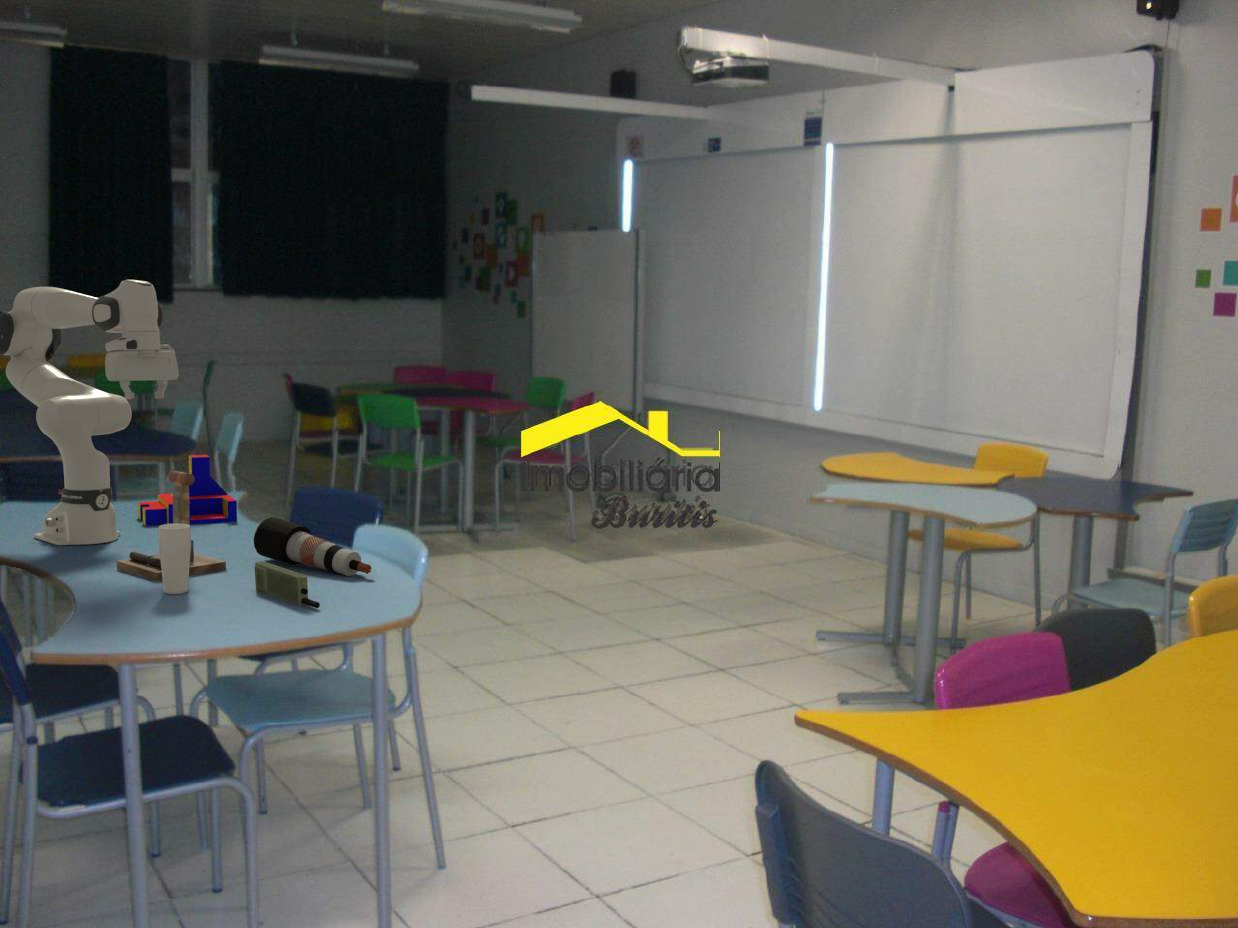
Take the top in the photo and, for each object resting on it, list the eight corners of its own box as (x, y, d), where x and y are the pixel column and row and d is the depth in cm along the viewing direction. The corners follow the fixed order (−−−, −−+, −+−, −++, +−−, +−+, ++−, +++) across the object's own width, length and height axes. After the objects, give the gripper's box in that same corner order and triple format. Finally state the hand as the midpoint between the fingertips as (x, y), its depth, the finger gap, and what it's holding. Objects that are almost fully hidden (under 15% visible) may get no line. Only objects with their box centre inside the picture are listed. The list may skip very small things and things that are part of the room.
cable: (359, 598, 285) (348, 565, 280) (260, 564, 303) (248, 532, 297) (387, 573, 292) (377, 540, 286) (289, 541, 309) (277, 509, 304)
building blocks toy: (137, 517, 358) (135, 456, 355) (223, 512, 370) (222, 453, 368) (146, 528, 342) (145, 464, 339) (237, 522, 354) (236, 461, 351)
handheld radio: (267, 588, 275) (325, 609, 257) (253, 591, 273) (311, 612, 255) (265, 559, 274) (323, 579, 256) (252, 562, 272) (309, 582, 254)
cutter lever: (180, 552, 295) (178, 470, 293) (196, 556, 291) (194, 473, 288) (168, 554, 293) (166, 471, 290) (183, 558, 288) (182, 474, 286)
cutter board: (185, 558, 303) (184, 530, 302) (226, 569, 291) (225, 541, 290) (117, 568, 289) (116, 540, 288) (156, 581, 277) (156, 551, 277)
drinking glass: (153, 594, 265) (152, 527, 263) (169, 587, 272) (167, 522, 270) (182, 596, 264) (181, 529, 262) (197, 589, 271) (196, 524, 269)
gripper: (165, 345, 314) (168, 398, 315) (99, 344, 296) (103, 400, 297) (182, 344, 312) (185, 397, 312) (117, 342, 293) (120, 399, 294)
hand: (145, 398), depth 305 cm, fingers open, 8 cm apart
